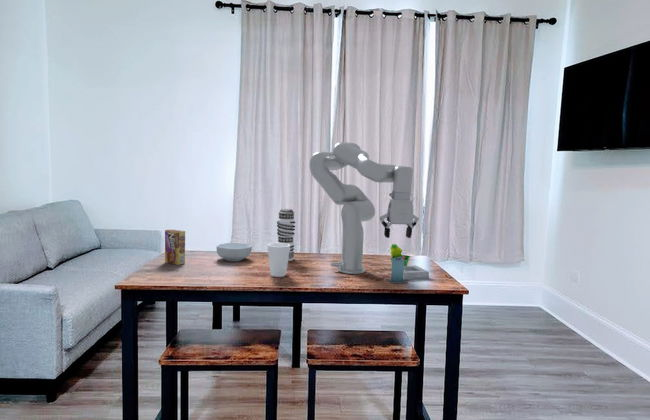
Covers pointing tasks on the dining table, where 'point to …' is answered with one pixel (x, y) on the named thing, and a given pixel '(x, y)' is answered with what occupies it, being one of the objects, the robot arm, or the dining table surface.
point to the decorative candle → (286, 229)
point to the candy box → (175, 247)
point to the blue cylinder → (397, 269)
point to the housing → (415, 273)
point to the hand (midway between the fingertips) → (397, 237)
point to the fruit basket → (398, 254)
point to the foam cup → (278, 258)
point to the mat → (396, 282)
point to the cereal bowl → (234, 251)
